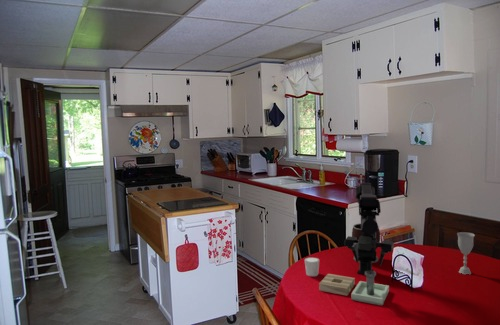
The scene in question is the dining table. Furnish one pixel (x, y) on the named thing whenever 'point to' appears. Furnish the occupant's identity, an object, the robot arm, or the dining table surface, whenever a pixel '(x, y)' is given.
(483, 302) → the dining table surface
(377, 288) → the tray
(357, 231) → the mate gourd
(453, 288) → the dining table surface
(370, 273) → the pin
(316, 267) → the cup
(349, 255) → the dining table surface
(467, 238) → the chalice
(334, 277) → the hole block
